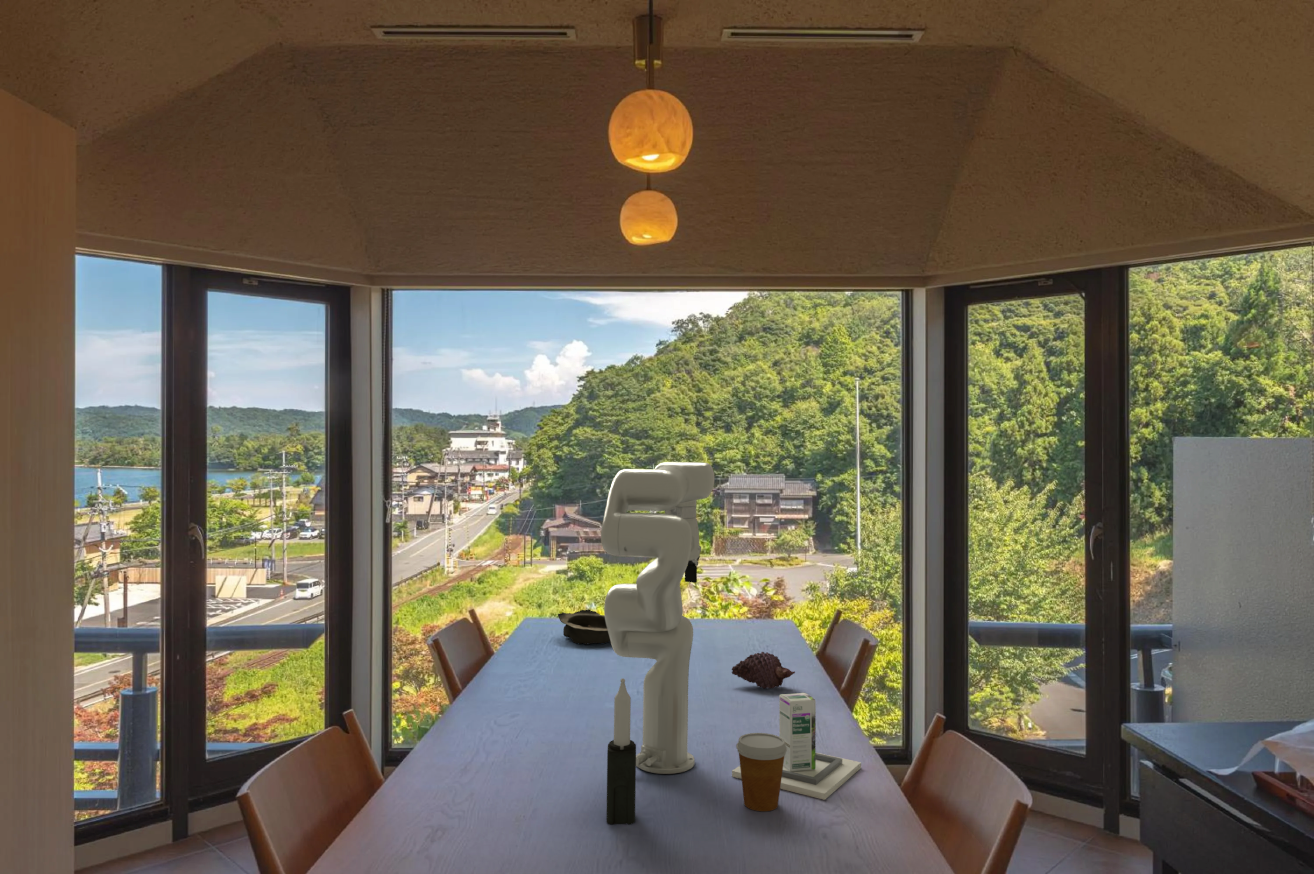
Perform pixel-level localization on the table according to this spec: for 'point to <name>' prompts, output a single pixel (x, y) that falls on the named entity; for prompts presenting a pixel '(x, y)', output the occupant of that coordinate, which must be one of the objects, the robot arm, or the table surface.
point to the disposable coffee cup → (761, 769)
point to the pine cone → (762, 670)
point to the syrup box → (798, 730)
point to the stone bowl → (585, 627)
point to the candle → (621, 764)
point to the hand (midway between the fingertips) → (679, 584)
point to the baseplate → (817, 776)
